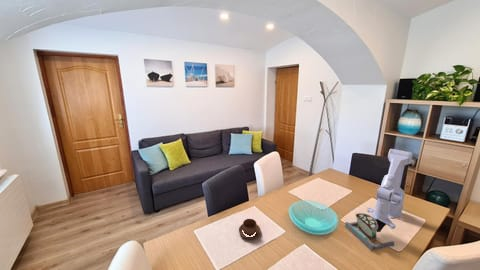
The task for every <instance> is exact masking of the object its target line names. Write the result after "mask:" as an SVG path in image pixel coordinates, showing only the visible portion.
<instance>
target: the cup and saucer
mask: <svg viewBox="0 0 480 270" xmlns="http://www.w3.org/2000/svg"><path fill="white" fill-rule="evenodd" d="M242 230H243V231H244V233H245V234H247V235H249V236H251V235H253V234H254V233H255V232H256V234H255V236H253V237H246V236H245V235H244V234H243V232H242ZM261 232H262V230H261V227H260V226H259V225H258V224H257V221H256V220H255V219H254V218H247V219H245V220H243V222H242V223H241V225H240V226H239V227H238V233H239V235H240V236H241V237H242V238H243V239H248V240H254V239H256V238H258V237H259V236H260V235H261Z"/></svg>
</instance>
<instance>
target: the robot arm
mask: <svg viewBox="0 0 480 270" xmlns="http://www.w3.org/2000/svg"><path fill="white" fill-rule="evenodd" d="M387 158H388V161H389V164H390V165H389V168H388V173H387V174H386V175H383V176H384V177H383V178H382V181H381V183H380V184H381V185H380V186H378V188H377V190H376V193H375V194H376V199H375V200H376V203H375V207H374V209H373V208H371V207H368V208H367V209H366V212H368V213H370V214H371V216H372V217H373V218H374V219H375V220H376V222H377V224H378V229H377V231H376V233H381V231H383V229H384V227H386V225H387V226H388V227H389V228H390V229H391V230H394V229H396V224H394V223H393V222H392V220H390V219H394V218H399V217H403V215H404V214H402V213H403V208H404V204H403V203H404V201H405V197H406V196H405V194H406V193H405V192H406V191H405V190H403V189H402V188H401V184H402V180H403V179H402V178H403V174H404V169H405V166H407V165H410V164H411V163H412V159H413V152H412V151H406V150H401V149H394V148H390V149H389V151H388V154H387Z"/></svg>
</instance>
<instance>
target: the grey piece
mask: <svg viewBox="0 0 480 270" xmlns="http://www.w3.org/2000/svg"><path fill="white" fill-rule="evenodd" d="M344 225H345V226H344V228H346V229H347V230H348V231H349V232H350V233H351V234H352V235H353V236H355V238H356V239H357V240H359V241H360V243H361V244H363V245H364V246H365V247H366V248H367V249H368V250H369V251H370V252H373V251H378V250H382V249H386V248H389V247H394V246H395V241H394V240H391V241H387V242H382V243H378V244H374V242H371V241H370V240H369V239H368V238H367V237H366V236H365V235H364V234H363V233H362V232H361V231H360V230H359V229H357V228H356V227H358V222H357V221H353V222H349V221H346V222H345V224H344Z"/></svg>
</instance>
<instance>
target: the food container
mask: <svg viewBox="0 0 480 270" xmlns="http://www.w3.org/2000/svg"><path fill="white" fill-rule="evenodd" d="M355 217H356V222H358V226H357V227H358V231H360V232H361V233H362V234H363V235H364V236H365V237H366V238H367V239H368V240H369V241H370V242H371V243H375V242H376V240H377V229H378V224H377V222H376V220H375V219H374V218H373V215H370V214H367V213H363V212H359V213H355Z"/></svg>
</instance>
